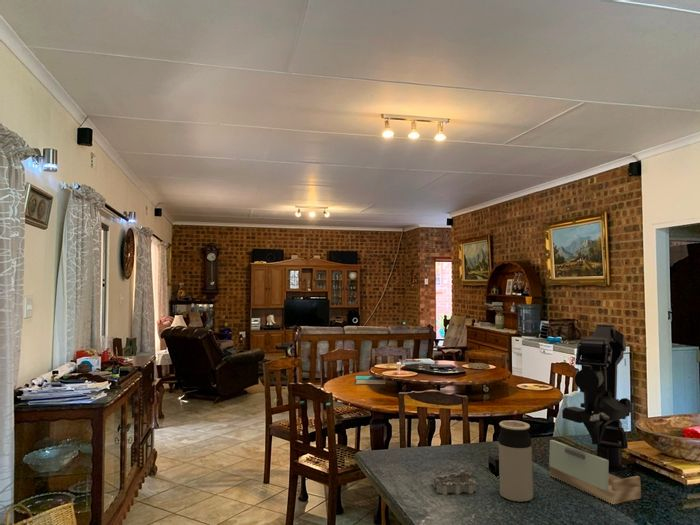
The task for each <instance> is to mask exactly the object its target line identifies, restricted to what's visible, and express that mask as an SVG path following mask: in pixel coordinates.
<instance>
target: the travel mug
mask: <svg viewBox="0 0 700 525" xmlns="http://www.w3.org/2000/svg"><path fill="white" fill-rule="evenodd" d="M498 424H499V426H500V432H499V434H498V455H499V477H500V478H499V494H500V496H501V497H503V498H504V499H505V500H509V501H513V502H516V501H517V502H516V503H521V502H522V503H524V501H525V502H528V501H531V500H533V498H534V495H533V494H534V489H533V484H534V483H533V455H532V454H533V453H532V452H533V451H532V447H533V446H532V436H531V435H530V433H529V430H530V428H531V425H530V424H529V423H528V422H524V421H520V420H514V419H513V420H501V421H500V422H499V423H498Z"/></svg>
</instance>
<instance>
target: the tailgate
mask: <svg viewBox="0 0 700 525" xmlns="http://www.w3.org/2000/svg"><path fill="white" fill-rule="evenodd" d="M548 457H549V460H548V463H549V464H548V466H549V467H550V466H551V467H553V468H555V469H558V470H560V471H562V472H564V473H567V474H569V475H571V476H574V477H576V478H578V479H580V480H583V481H585V482H587V483H590V484H592V485H594V486H596V487H599V488H601V489H603V490H608V473H609V470H608V467H609V460H606V459H603V458H601V457H598V456H597V455H595V454H592V453H589V452H587V451H584V450H581V449H579V448H576V447H574V446H571V445H568V444H565V443H563V442H560V441H557V440H555V439H551V440H549V455H548Z"/></svg>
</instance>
